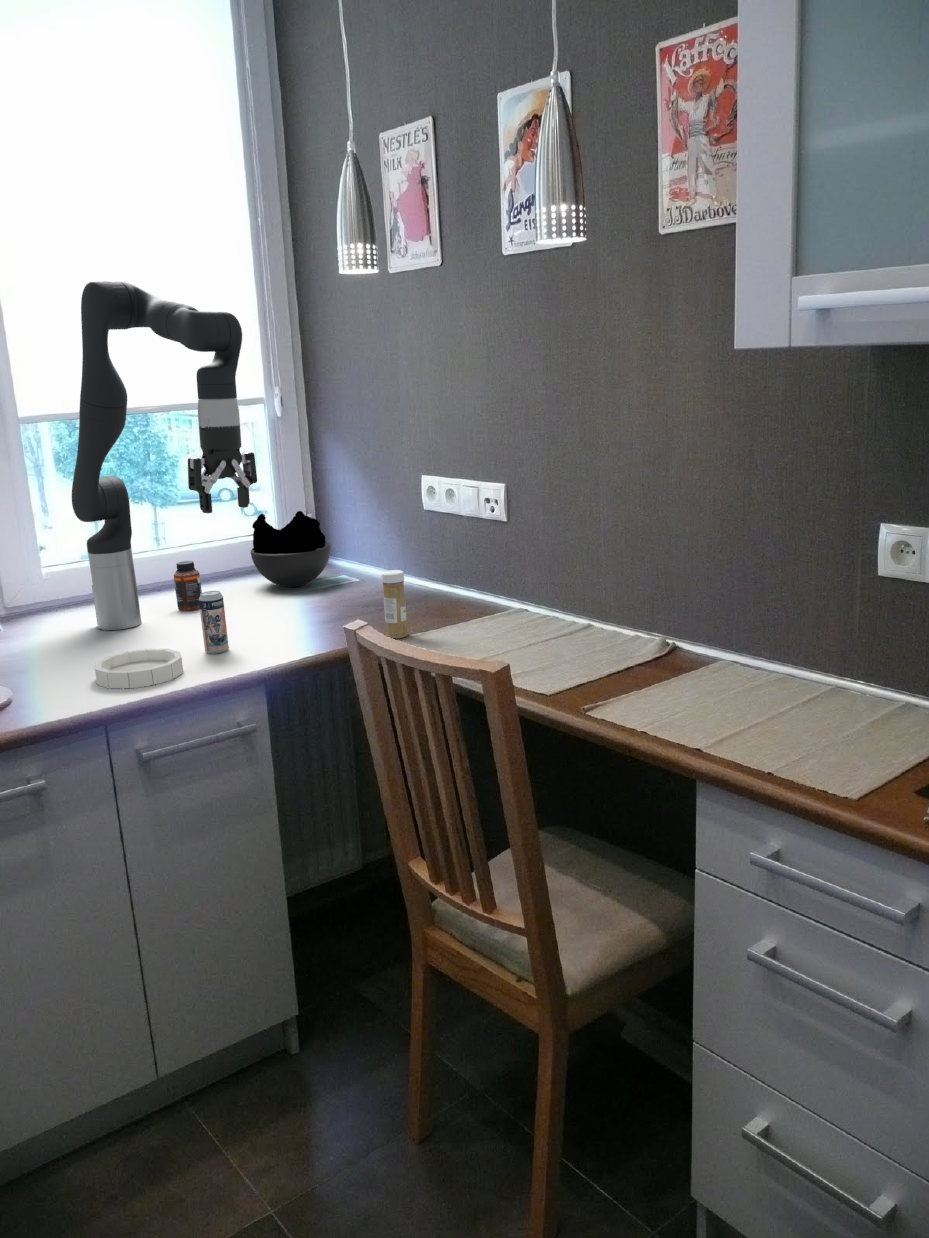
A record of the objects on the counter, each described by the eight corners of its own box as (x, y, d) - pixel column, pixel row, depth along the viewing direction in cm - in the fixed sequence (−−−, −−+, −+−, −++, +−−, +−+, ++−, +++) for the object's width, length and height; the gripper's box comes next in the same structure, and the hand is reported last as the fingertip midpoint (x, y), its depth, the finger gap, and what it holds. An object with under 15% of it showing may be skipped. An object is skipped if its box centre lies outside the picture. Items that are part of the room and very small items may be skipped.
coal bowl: (349, 580, 267) (343, 507, 262) (300, 597, 250) (292, 520, 246) (288, 575, 277) (282, 505, 272) (237, 592, 260) (229, 517, 256)
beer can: (208, 656, 204) (201, 597, 201) (202, 650, 208) (195, 592, 205) (232, 651, 206) (225, 593, 203) (225, 646, 210) (219, 589, 207)
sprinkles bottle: (412, 636, 210) (407, 571, 207) (392, 640, 208) (388, 575, 204) (401, 631, 214) (396, 568, 211) (381, 636, 212) (376, 571, 208)
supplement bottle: (209, 607, 246) (203, 560, 243) (190, 613, 241) (184, 565, 238) (191, 605, 249) (185, 559, 246) (172, 610, 244) (166, 563, 241)
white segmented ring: (81, 679, 193) (79, 664, 192) (153, 659, 204) (151, 644, 203) (125, 693, 183) (123, 677, 182) (199, 671, 194) (197, 656, 193)
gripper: (236, 420, 200) (242, 504, 204) (175, 425, 189) (182, 513, 193) (262, 421, 195) (267, 507, 199) (200, 426, 185) (207, 516, 189)
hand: (225, 510), depth 196 cm, fingers open, 8 cm apart
